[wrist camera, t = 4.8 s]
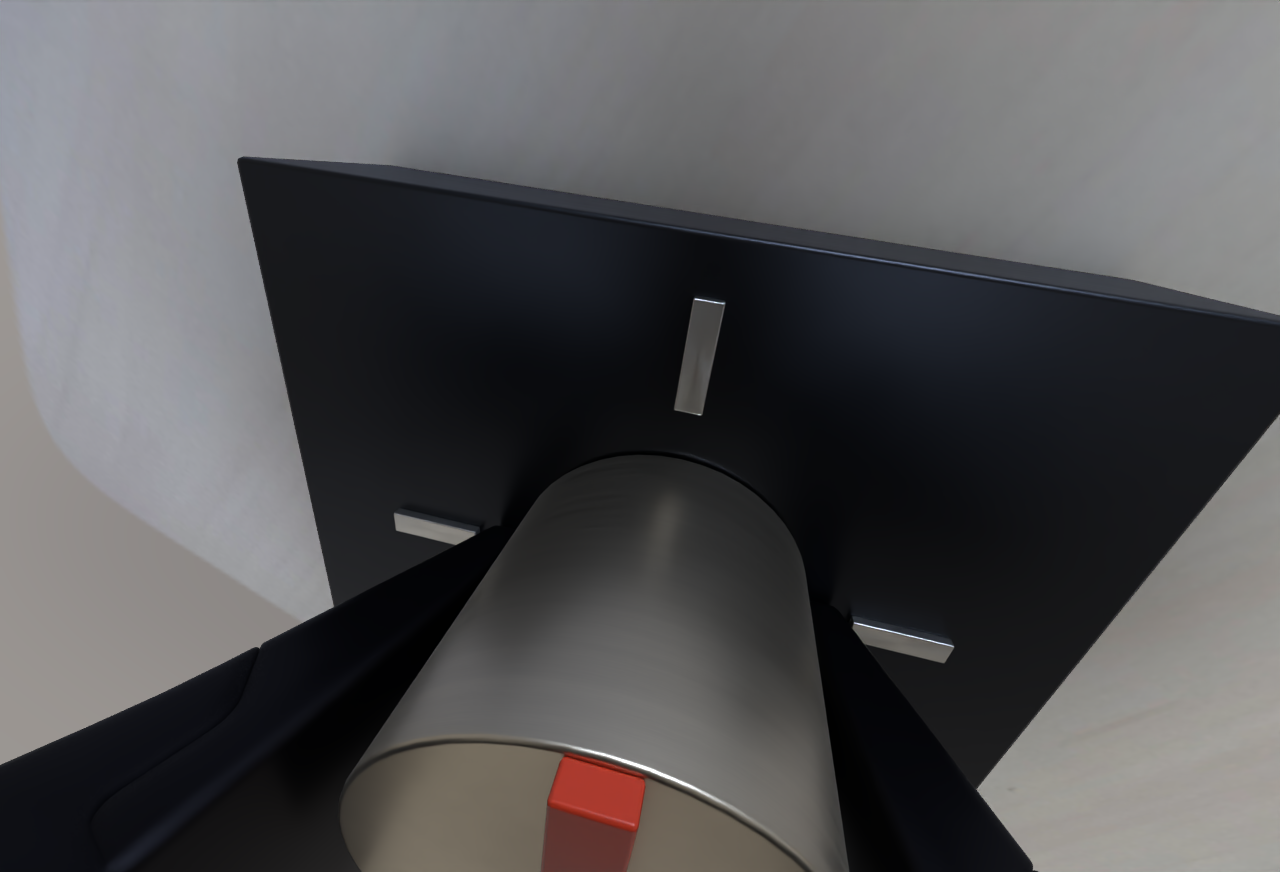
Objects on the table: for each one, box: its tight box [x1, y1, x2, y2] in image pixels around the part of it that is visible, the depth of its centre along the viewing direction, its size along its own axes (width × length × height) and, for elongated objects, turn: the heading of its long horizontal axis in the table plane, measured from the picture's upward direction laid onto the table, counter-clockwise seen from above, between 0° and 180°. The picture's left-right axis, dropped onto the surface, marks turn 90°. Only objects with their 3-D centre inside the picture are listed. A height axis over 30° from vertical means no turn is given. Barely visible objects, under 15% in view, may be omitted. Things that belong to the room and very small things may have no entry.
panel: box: [237, 157, 1280, 789], centre depth 9 cm, size 12×10×3 cm
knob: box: [338, 455, 849, 872], centre depth 6 cm, size 4×4×4 cm
